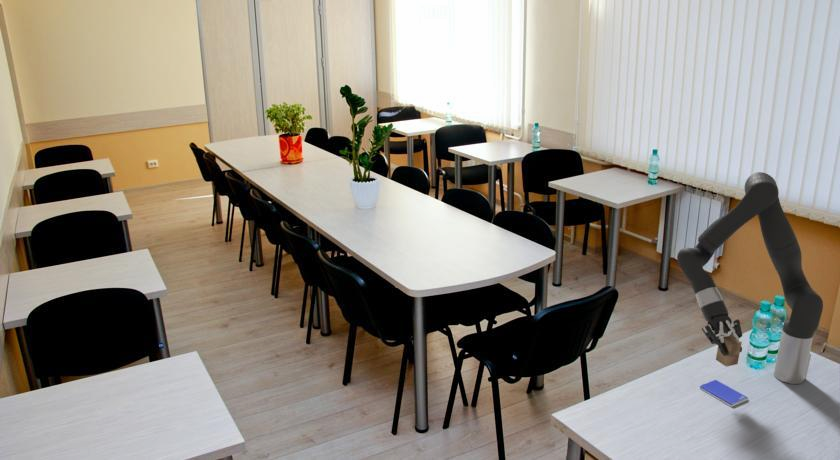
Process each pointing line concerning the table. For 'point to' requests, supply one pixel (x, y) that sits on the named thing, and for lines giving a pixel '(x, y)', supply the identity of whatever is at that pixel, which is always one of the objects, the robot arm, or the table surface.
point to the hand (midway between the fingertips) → (733, 353)
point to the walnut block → (733, 348)
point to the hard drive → (723, 393)
